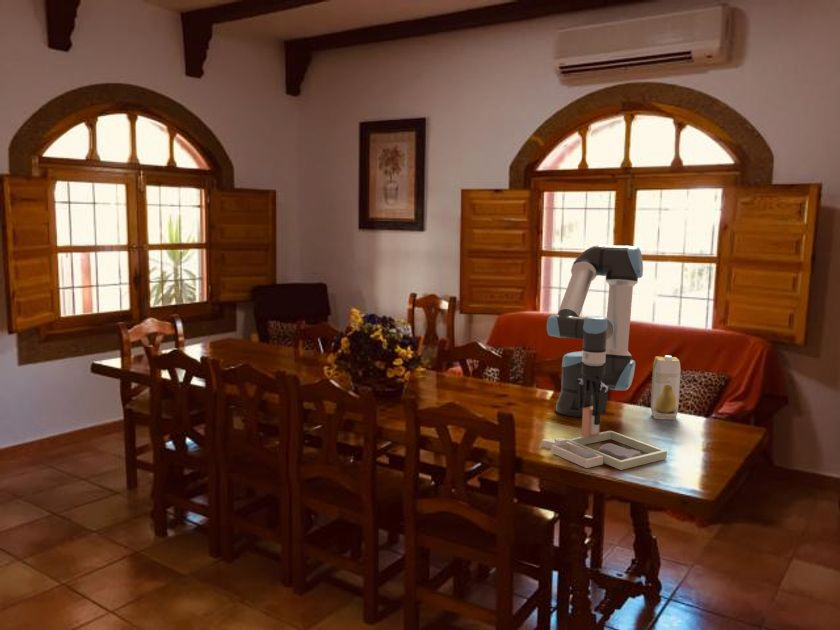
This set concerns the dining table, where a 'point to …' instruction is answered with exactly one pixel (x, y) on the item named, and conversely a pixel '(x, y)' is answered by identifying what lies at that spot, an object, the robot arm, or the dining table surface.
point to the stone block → (618, 451)
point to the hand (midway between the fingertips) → (590, 431)
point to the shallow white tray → (588, 438)
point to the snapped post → (548, 443)
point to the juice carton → (665, 387)
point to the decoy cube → (586, 453)
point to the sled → (563, 446)
